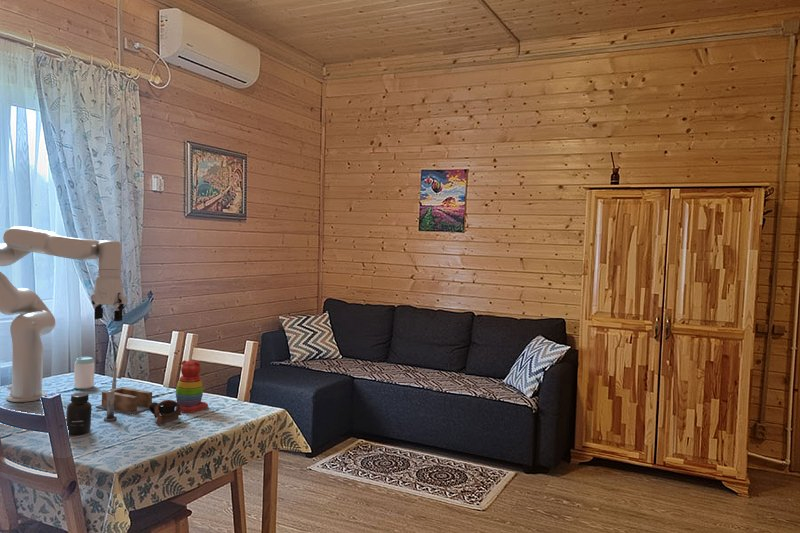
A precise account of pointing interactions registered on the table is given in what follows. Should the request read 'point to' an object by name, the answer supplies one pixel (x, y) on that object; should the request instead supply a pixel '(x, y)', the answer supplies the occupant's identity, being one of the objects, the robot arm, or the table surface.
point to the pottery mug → (165, 411)
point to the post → (110, 406)
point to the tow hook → (114, 376)
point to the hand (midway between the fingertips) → (108, 319)
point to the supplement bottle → (79, 414)
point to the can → (84, 373)
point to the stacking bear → (190, 388)
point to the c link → (128, 398)
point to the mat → (139, 409)
